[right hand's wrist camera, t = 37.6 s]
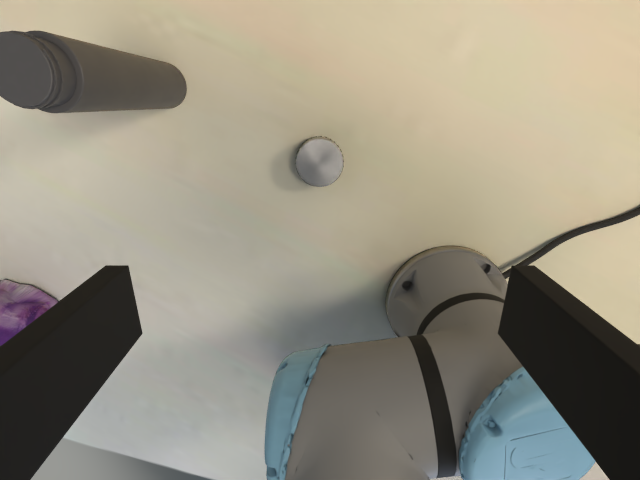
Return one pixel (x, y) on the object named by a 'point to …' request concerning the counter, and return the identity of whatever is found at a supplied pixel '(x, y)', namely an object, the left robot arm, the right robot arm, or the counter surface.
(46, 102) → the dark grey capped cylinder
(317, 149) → the lid
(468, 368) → the right robot arm
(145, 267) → the counter surface
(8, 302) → the figurine
